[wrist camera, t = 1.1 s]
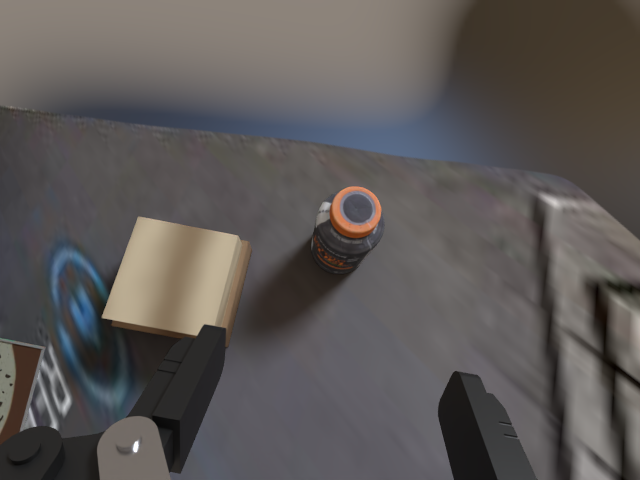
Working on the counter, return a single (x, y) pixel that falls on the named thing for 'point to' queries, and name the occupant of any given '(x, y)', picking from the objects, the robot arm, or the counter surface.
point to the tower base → (178, 280)
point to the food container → (17, 384)
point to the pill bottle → (347, 229)
